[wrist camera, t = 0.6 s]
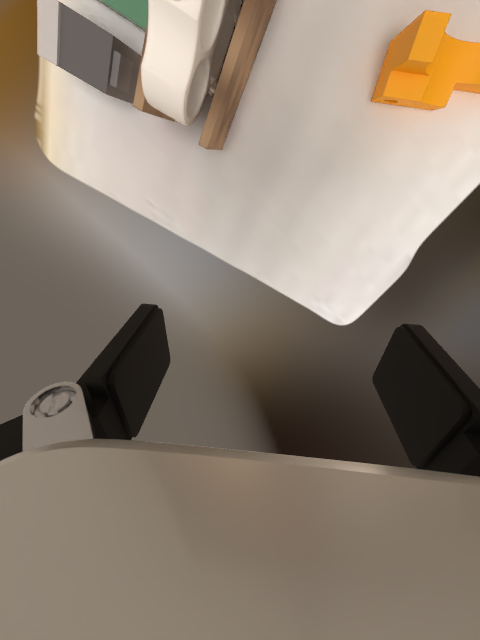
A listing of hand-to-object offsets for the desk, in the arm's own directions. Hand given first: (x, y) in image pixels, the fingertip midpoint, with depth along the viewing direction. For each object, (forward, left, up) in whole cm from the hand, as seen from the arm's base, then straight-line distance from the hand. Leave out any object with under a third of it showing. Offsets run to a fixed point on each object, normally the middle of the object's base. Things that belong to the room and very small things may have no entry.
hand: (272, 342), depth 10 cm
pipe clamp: (-18, +9, -28) cm, 35 cm away
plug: (-5, -22, -28) cm, 35 cm away
